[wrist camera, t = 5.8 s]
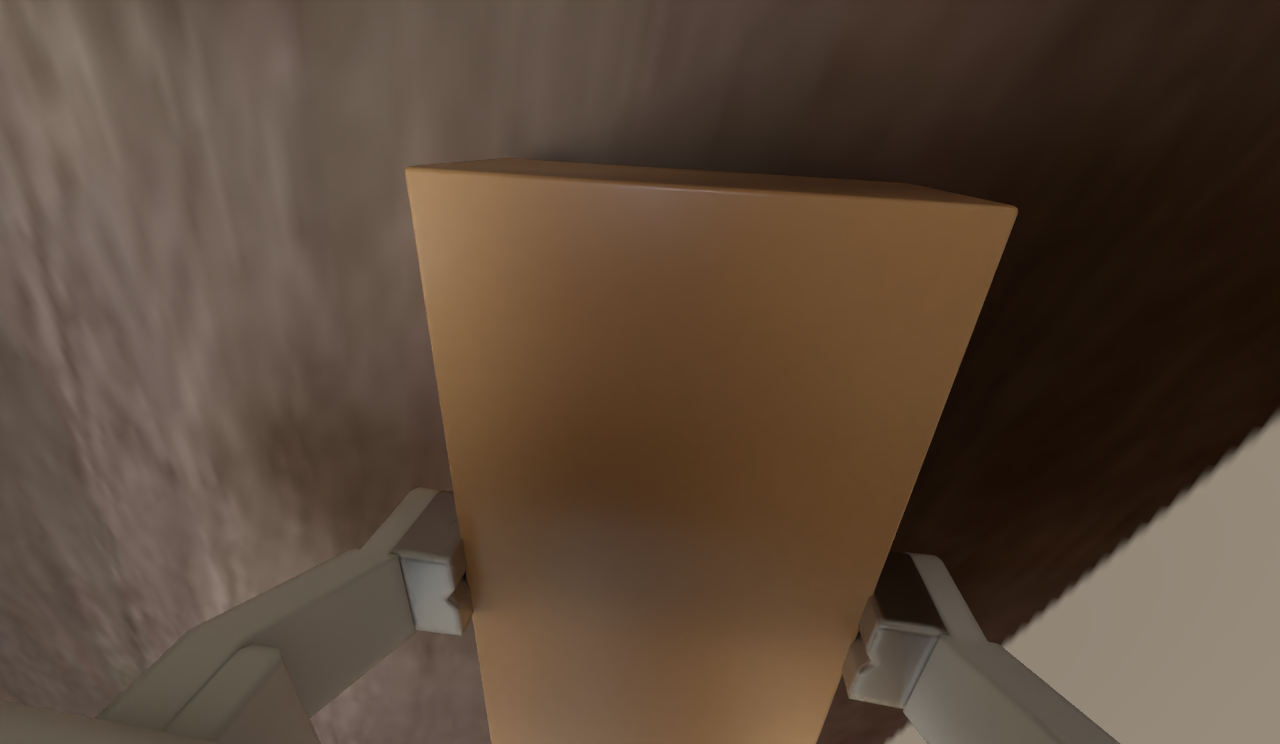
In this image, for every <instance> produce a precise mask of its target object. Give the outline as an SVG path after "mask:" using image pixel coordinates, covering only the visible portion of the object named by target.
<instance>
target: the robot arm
mask: <svg viewBox="0 0 1280 744" xmlns="http://www.w3.org/2000/svg"><path fill="white" fill-rule="evenodd" d="M466 569H467V563H466V556H465V550H464V544H463V539H461V538H460V533H459V526H458V520H457V513H456V506H455V500H454V493H453V492H450V491H444V490H443V491H440V490H434V489H428V488H422V487H418V488H415V489H413V490H411V491H410V492H409V493H408V495H407V496H406V497H405V498H404V499H403V500H402V501H401V503H400V504H399V505H398V506H397V507H396V508H395V510H394V511H393V512H392V513H391V514H390V515H389V517H388V518H387V519H386V520H385V521H384V522H383V524H382V525H381V526H380V527H379V528H378V529H377V530H376V532H375V533H374V534H373V535H372V536H371V537H370V539H369V540H368V541H367V542H366V543H365V544H364V546H363V547H362V548H361V549H354V548H352V549H350V550H348V551H346V552H344V553H342V554H340V555H338V556H336V557H334V558H332V559H330V560H328V561H326V562H324V563H322V564H320V565H318V566H316V567H314V568H312V569H310V570H308V571H306V572H304V573H302V574H300V575H298V576H296V577H294V578H292V579H290V580H288V581H286V582H284V583H282V584H280V585H278V586H276V587H274V588H272V589H270V590H268V591H266V592H264V593H262V594H260V595H258V596H256V597H254V598H252V599H250V600H248V601H246V602H244V603H242V604H240V605H238V606H236V607H234V608H232V609H230V610H228V611H226V612H224V613H222V614H220V615H218V616H216V617H214V618H212V619H210V620H208V621H206V622H204V623H202V624H200V625H198V626H196V627H194V628H192V629H190V630H189V631H188V632H187V633H186V634H185V635H183V636H182V637H181V638H180V639H179V640H178V641H177V642H176V643H175V644H174V645H173V646H172V647H171V648H170V649H169V650H167V651H166V652H165V653H164V654H163V655H162V656H161V657H160V658H159V659H158V660H157V661H156V662H155V663H154V664H152V665H151V666H150V667H149V668H148V669H147V670H146V671H145V672H144V673H143V674H142V675H141V676H140V677H139V678H138V679H136V680H135V681H134V682H133V683H132V684H131V685H130V686H129V687H128V688H127V689H126V690H125V691H124V692H123V693H121V694H120V695H119V696H118V697H117V698H116V699H115V700H114V701H113V702H112V703H111V704H110V705H109V706H108V707H107V708H105V709H104V710H103V711H102V712H101V713H100V714H99V715H98V716H97V717H96V718H90V717H84V716H79V715H74V714H69V713H64V712H59V711H53V710H48V709H43V708H38V707H33V706H28V705H22V704H17V703H12V702H7V701H2V700H0V744H321V743H320V741H319V739H318V736H317V734H316V732H315V729H314V727H313V725H312V723H311V720H310V718H311V717H312V716H313V715H314V714H316V713H317V712H318V711H319V710H321V709H322V708H323V707H324V706H326V705H327V704H328V703H329V702H330V701H332V700H333V699H334V698H335V697H337V696H338V695H339V694H340V693H342V692H343V691H344V690H345V689H346V688H348V687H349V686H350V685H351V684H353V683H354V682H355V681H356V680H358V679H359V678H360V677H361V676H362V675H364V674H365V673H366V672H367V671H369V670H370V669H371V668H372V667H374V666H375V665H376V664H377V663H379V662H380V661H381V660H382V659H383V658H385V657H386V656H387V655H388V654H390V653H391V652H392V651H393V650H395V649H396V648H397V647H398V646H399V645H401V644H402V643H403V642H404V641H406V640H407V639H408V638H409V637H411V636H412V635H413V634H414V633H415V630H422V631H430V632H437V633H445V634H453V635H460V636H462V634H463V632H464V630H465V628H466V626H467V624H468V622H469V620H470V618H471V616H472V614H473V613H474V612H473V604H472V597H471V590H470V586H469V585H468V583H467V579H466V572H465V571H466ZM858 627H859V632H858V635H857V638H856V640H855V641H854V642H853V643H852V644H851V645H850V647H849V650H848V653H847V656H846V658H845V661H844V664H843V667H842V669H841V670H842V674H843V677H844V681H845V685H846V689H847V693H848V697H849V699H854V700H860V701H865V702H870V703H875V704H881V705H886V706H891V707H896V708H902V709H904V710H903V712H904V714H905V715H906V716H907V718H908V719H909V720H910V722H911V723H912V724H913V725H914V727H915V728H916V729H917V731H918V732H919V733H920V734H921V736H922V737H923V738H924V740H925V741H926V742H927V743H928V744H1120V743H1119V742H1117V741H1116V740H1115V739H1114V738H1113V737H1111V736H1110V735H1109V734H1108V733H1106V732H1105V731H1104V730H1103V729H1102V728H1100V727H1099V726H1098V725H1097V724H1095V723H1094V722H1093V721H1092V720H1090V719H1089V718H1088V717H1087V716H1086V715H1085V714H1083V713H1082V712H1081V711H1080V710H1078V709H1077V708H1076V707H1075V706H1074V705H1072V704H1071V703H1070V702H1069V701H1067V700H1066V699H1065V698H1064V697H1063V696H1061V695H1060V694H1059V693H1058V692H1056V691H1055V690H1054V689H1053V688H1052V687H1050V686H1049V685H1048V684H1047V683H1045V682H1044V681H1043V680H1042V679H1040V678H1039V677H1038V676H1037V675H1036V674H1034V673H1033V672H1032V671H1031V670H1030V669H1028V668H1027V667H1026V666H1025V665H1024V664H1022V663H1021V662H1020V661H1019V660H1017V659H1016V658H1015V657H1013V656H1012V655H1011V654H1010V653H1009V652H1008V651H1006V650H1005V649H1004V648H1003V647H1002V646H1000V645H999V644H998V643H992V642H988V641H987V639H986V638H985V636H984V634H983V632H982V631H981V629H980V627H979V625H978V623H977V622H976V620H975V618H974V616H973V615H972V613H971V611H970V609H969V608H968V606H967V604H966V602H965V600H964V599H963V597H962V595H961V593H960V592H959V590H958V588H957V586H956V585H955V583H954V581H953V579H952V577H951V576H950V574H949V572H948V570H947V569H946V567H945V565H944V563H943V562H942V560H941V559H939V558H938V557H937V556H934V555H926V554H917V553H909V552H905V553H903V552H898V551H889V553H888V556H887V559H886V561H885V564H884V567H883V569H882V572H881V574H880V577H879V580H878V582H877V585H876V588H875V590H874V593H873V595H872V596H869V598H868V600H867V603H866V606H865V608H864V611H863V613H862V616H861V618H860V621H859V624H858Z"/></svg>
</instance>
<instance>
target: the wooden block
mask: <svg viewBox="0 0 1280 744" xmlns="http://www.w3.org/2000/svg"><path fill="white" fill-rule="evenodd" d="M405 177H406V183H407V190H408V196H409V203H410V210H411V216H412V223H413V229H414V236H415V243H416V249H417V256H418V262H419V269H420V276H421V282H422V289H423V295H424V302H425V309H426V315H427V322H428V328H429V335H430V342H431V348H432V355H433V361H434V368H435V374H436V381H437V388H438V394H439V401H440V407H441V414H442V421H443V427H444V434H445V440H446V447H447V454H448V460H449V467H450V473H451V480H452V487H453V493H454V500H455V506H456V513H457V520H458V526H459V533H460V538H461V539H463V544H464V550H465V556H466V563H467V569H466V571H465V572H466V579H467V583H468V585H469V586H470V590H471V597H472V604H473V612H474V613H473V614H472V618H473V625H474V632H475V638H476V645H477V651H478V658H479V665H480V671H481V678H482V684H483V691H484V698H485V704H486V711H487V717H488V724H489V730H490V737H491V744H816V743H817V740H818V738H819V735H820V732H821V730H822V727H823V724H824V722H825V719H826V716H827V714H828V711H829V709H830V706H831V703H832V701H833V698H834V695H835V693H836V690H837V688H838V685H839V682H840V680H841V677H842V670H841V669H842V667H843V664H844V661H845V658H846V656H847V653H848V650H849V647H850V645H851V644H852V643H853V642H854V641H855V640H856V638H857V635H858V632H859V627H858V624H859V621H860V618H861V616H862V613H863V611H864V608H865V606H866V603H867V600H868V598H869V596H872V595H873V593H874V590H875V588H876V585H877V582H878V580H879V577H880V574H881V572H882V569H883V567H884V564H885V561H886V559H887V556H888V553H889V551H890V548H891V545H892V543H893V540H894V538H895V535H896V532H897V530H898V527H899V524H900V522H901V519H902V517H903V514H904V511H905V509H906V506H907V503H908V501H909V498H910V496H911V493H912V490H913V488H914V485H915V482H916V480H917V477H918V474H919V472H920V469H921V467H922V464H923V461H924V459H925V456H926V453H927V451H928V448H929V446H930V443H931V440H932V438H933V435H934V432H935V430H936V427H937V424H938V422H939V419H940V417H941V414H942V411H943V409H944V406H945V403H946V401H947V398H948V396H949V393H950V390H951V388H952V385H953V382H954V380H955V377H956V375H957V372H958V369H959V367H960V364H961V361H962V359H963V356H964V353H965V351H966V348H967V346H968V343H969V340H970V338H971V335H972V332H973V330H974V327H975V325H976V322H977V319H978V317H979V314H980V311H981V309H982V306H983V303H984V301H985V298H986V296H987V293H988V290H989V288H990V285H991V282H992V280H993V277H994V275H995V272H996V269H997V267H998V264H999V261H1000V259H1001V256H1002V254H1003V251H1004V248H1005V246H1006V243H1007V240H1008V238H1009V235H1010V232H1011V230H1012V227H1013V225H1014V222H1015V219H1016V217H1017V214H1018V208H1017V207H1015V206H1012V205H1008V204H1003V203H998V202H994V201H989V200H984V199H980V198H975V197H970V196H965V195H961V194H956V193H951V192H947V191H942V190H937V189H933V188H928V187H923V186H918V185H914V184H909V183H898V182H882V181H866V180H850V179H834V178H818V177H802V176H786V175H770V174H754V173H738V172H722V171H706V170H690V169H674V168H658V167H642V166H626V165H610V164H594V163H579V162H563V161H547V160H531V159H515V158H500V159H488V160H476V161H464V162H453V163H441V164H429V165H417V166H409V167H406V168H405Z"/></svg>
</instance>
